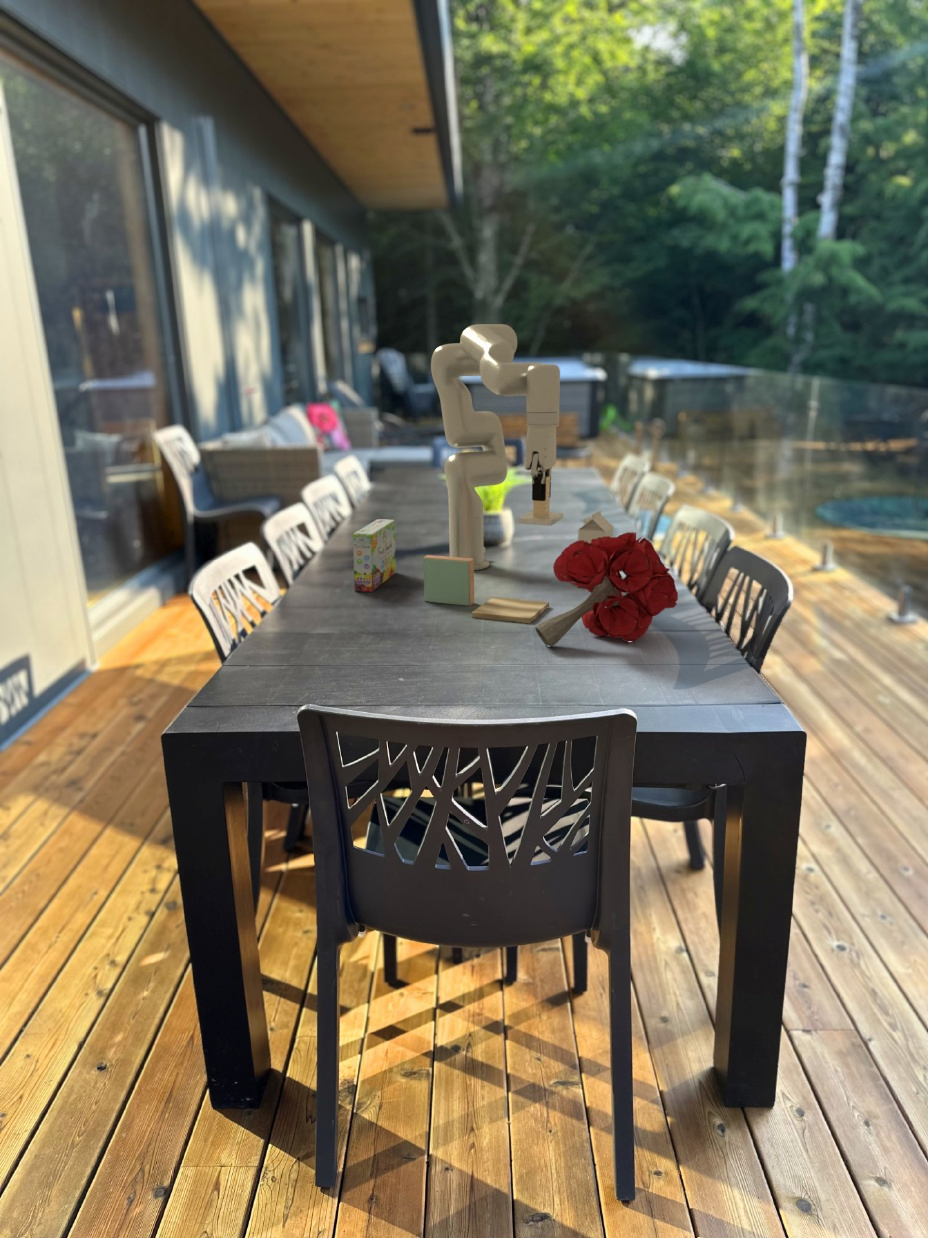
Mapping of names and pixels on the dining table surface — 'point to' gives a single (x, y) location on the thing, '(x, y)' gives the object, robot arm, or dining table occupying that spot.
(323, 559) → the dining table surface
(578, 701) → the dining table surface
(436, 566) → the tile
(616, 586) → the bouquet
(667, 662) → the dining table surface
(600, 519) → the milk carton
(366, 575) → the snack box
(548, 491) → the wooden post on base
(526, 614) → the wooden base plate
